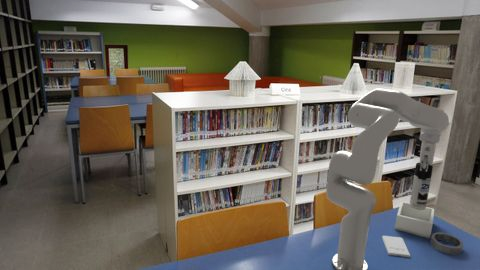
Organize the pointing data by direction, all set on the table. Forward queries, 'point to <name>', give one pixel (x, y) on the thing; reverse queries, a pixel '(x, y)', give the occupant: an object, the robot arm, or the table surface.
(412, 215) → the bin
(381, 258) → the table surface
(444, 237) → the collar
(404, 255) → the external hard drive
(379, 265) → the table surface
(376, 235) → the table surface
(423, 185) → the spray can
